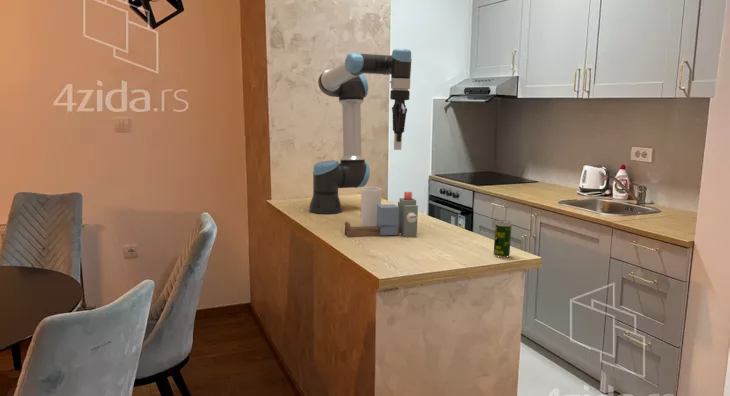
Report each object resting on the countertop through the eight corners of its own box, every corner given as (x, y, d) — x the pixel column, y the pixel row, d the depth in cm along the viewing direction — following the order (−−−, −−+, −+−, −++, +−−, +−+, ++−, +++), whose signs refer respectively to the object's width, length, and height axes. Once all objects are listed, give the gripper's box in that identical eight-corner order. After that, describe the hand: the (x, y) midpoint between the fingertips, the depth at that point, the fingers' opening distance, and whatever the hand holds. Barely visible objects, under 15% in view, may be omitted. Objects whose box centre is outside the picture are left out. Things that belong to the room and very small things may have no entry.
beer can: (497, 253, 195) (500, 219, 193) (512, 256, 192) (514, 221, 190) (490, 256, 191) (492, 221, 189) (505, 259, 188) (507, 224, 186)
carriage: (376, 231, 221) (377, 204, 219) (393, 230, 223) (394, 204, 221) (380, 235, 215) (381, 207, 213) (397, 234, 217) (398, 207, 215)
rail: (344, 234, 218) (344, 221, 217) (396, 232, 222) (396, 220, 222) (347, 237, 213) (347, 224, 212) (400, 235, 218) (400, 222, 217)
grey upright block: (396, 230, 225) (397, 197, 223) (409, 230, 226) (410, 197, 224) (404, 237, 215) (406, 202, 212) (417, 236, 216) (419, 201, 214)
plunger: (403, 201, 220) (403, 191, 219) (410, 201, 221) (410, 191, 220) (405, 203, 217) (405, 193, 216) (412, 203, 218) (413, 193, 217)
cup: (378, 229, 228) (379, 190, 225) (358, 227, 229) (359, 189, 226) (381, 224, 236) (382, 187, 233) (362, 223, 237) (363, 186, 234)
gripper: (386, 89, 225) (384, 147, 229) (395, 89, 212) (393, 151, 217) (404, 89, 226) (401, 147, 231) (414, 90, 214) (411, 151, 219)
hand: (397, 149), depth 224 cm, fingers closed
